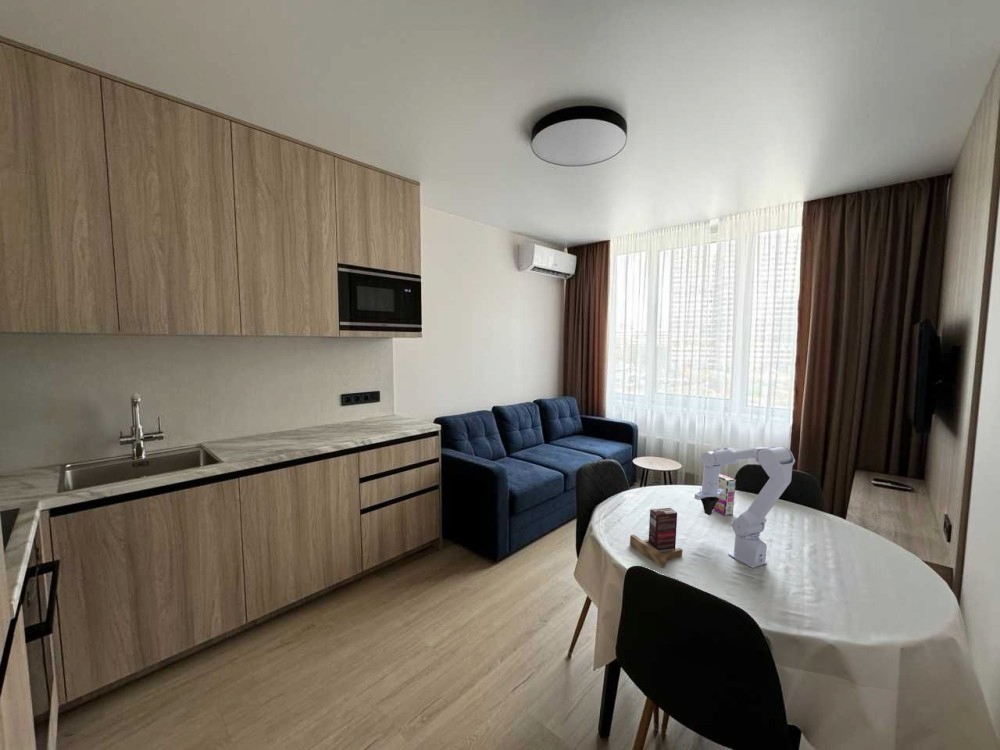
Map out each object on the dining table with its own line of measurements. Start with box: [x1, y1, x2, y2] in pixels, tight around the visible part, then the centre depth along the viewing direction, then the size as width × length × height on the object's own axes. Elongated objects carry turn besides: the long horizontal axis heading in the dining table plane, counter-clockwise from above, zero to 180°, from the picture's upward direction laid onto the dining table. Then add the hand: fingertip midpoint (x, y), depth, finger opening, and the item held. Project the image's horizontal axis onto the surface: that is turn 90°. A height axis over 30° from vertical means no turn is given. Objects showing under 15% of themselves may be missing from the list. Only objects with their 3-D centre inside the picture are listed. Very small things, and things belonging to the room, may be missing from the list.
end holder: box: [629, 534, 683, 568], centre depth 151 cm, size 16×13×4 cm
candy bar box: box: [713, 472, 737, 516], centre depth 189 cm, size 11×5×16 cm, turn 17°
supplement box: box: [648, 507, 678, 553], centre depth 151 cm, size 9×5×16 cm, turn 102°
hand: (707, 514), depth 163 cm, fingers closed
